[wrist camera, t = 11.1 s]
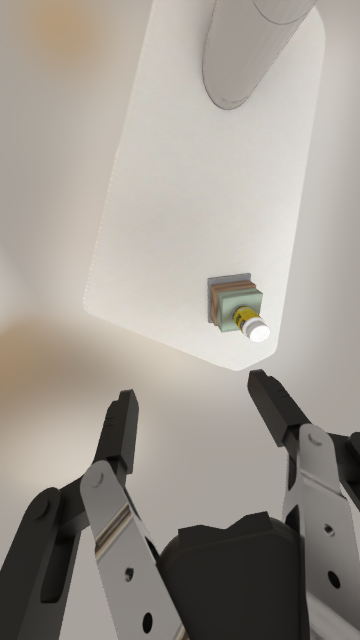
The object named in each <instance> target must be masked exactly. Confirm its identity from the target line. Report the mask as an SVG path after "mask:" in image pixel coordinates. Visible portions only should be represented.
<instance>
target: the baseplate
mask: <svg viewBox="0 0 360 640" xmlns="http://www.w3.org/2000/svg"><path fill="white" fill-rule="evenodd" d="M250 278H251V274H250V273H248V274H240V275H232V276H224V277H216V278H209V279H208V322H209V323H213V322H212V320H211V285H216V284H224V283H231V282H239V281H247V280H249V281H250Z"/></svg>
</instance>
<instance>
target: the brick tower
mask: <svg viewBox="0 0 360 640" xmlns="http://www.w3.org/2000/svg"><path fill="white" fill-rule="evenodd" d="M262 296H263V293H262V292H260V291H259V290H257V289H256V285H255V284H254V283H252V282H250V281H249V280H247V281H239V282H231V283H224V284H216V285H211V320H212V322H213V323H214V325H215V326H218V327H219V329H220V330H221V332H229V331H235V330H240V329H239V327H238V326H237V325H236V324H235V322H234V321H233V319H232V312H233V310H234V309H235V308H236V307H238V306H240V305H247V306H249V307H250V308H251V309H252V310H253V311H254V312H256V313H257V314H258V315H259V313H260V307H261V301H262Z"/></svg>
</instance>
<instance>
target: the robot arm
mask: <svg viewBox="0 0 360 640" xmlns="http://www.w3.org/2000/svg"><path fill="white" fill-rule="evenodd" d="M316 2H317V0H216V4H215V7H214V11H213V15H212V21H211V25H210V29H209V33H208V37H207V41H206V45H205V48H204V54H203V78H204V83H205V86H206V90H207V92H208V94H209V96H210V98H211V99H212V101H213V102H214V103H215V104H216V105H218V106H219V107H221V108H223V109H234V108H236V107H238V106H240V105H241V104H242V103H243V102H244V101H245V100H246V99H247V98H248V96H249V95H250V94H251V92H252V91H253V90H254V88H255V87H256V85H257V84H258V83H259V81H260V80H261V79H262V77H263V76H264V74H265V73H266V72H267V70H268V69H269V67H270V66H271V65H272V63H273V62H274V60H275V59H276V58H277V56H278V55H279V53H280V52H281V51H282V49H283V48H284V47H285V45H286V44H287V42H288V41H289V40H290V38H291V37H292V35H293V34H294V33H295V31H296V30H297V28H298V27H299V26H300V24H301V23H302V21H303V20H304V19H305V17H306V16H307V14H308V13H309V12H310V10H311V9H312V7H313V6H314V5H315V3H316ZM247 387H248V391H249V394H250V396H251V398H252V400H253V401H254V403H255V405H256V407H257V409H258V411H259V413H260V414H261V416H262V418H263V420H264V422H265V423H266V426H267V428H268V429H269V431H270V433H271V435H272V437H273V439H274V440H275V442H276V444H277V446H278V447H283V446H285V447H286V449H287V451H288V453H287V472H286V473H287V474H286V492H285V497H284V503H283V510H282V522H281V521H279V520H277V519H275V518H272V517H269V515H268V513H267V511H265V512H260V513H255V514H250V515H246V516H244V517H243V518H241V519H240V520H239V521H237V522H236V523H234V524H233V525H231V526H230V527H229V528H227V529H219V528H213V527H209V526H204V525H196V526H192V527H187V528H182V529H178V534H179V535H177V536H176V537H174V538H173V539H172V540H171V541H170V542H169V544H168V545H167V546H166V547H165V549H164V550H163V552H162V553H161V555H160V553H159V551H158V549H157V547H156V545H155V543H154V541H153V539H152V537H151V535H150V533H149V531H148V530H147V528H146V526H145V524H144V523H143V521H142V519H141V517H140V515H139V513H138V511H137V509H136V507H135V505H134V503H133V501H132V499H131V497H130V495H129V493H128V491H127V489H126V486H125V482H126V475H127V474H132V472H133V462H134V452H135V442H136V433H137V423H138V412H139V406H138V402H137V399H136V396H135V393H134V391H133V389H131V390H124V391H121V392H120V395H119V399H118V400H117V401H113V402H112V403H111V405H110V407H109V408H108V410H107V413H106V417H105V421H104V424H103V428H102V432H101V436H100V439H99V443H98V447H97V451H96V454H95V457H94V460H93V462H92V464H91V466H90V467H89V468H88V469H87V471H86V472H85V474H83V475H82V476H81V477H80V478H78V479H77V480H75V481H73V482H72V483H70V484H68V485H66V486H65V487H63V488H61V489H59V490H58V489H57V488H54V487H51V488H47V489H46V490H44V491H42V492H41V493H39V494H38V495H37V496H36V497H35V498H34V499H33V501H32V502H31V503H30V505H29V506H28V508H27V510H26V512H25V514H24V516H23V518H22V521H21V523H20V526H19V528H18V530H17V533H16V535H15V537H14V540H13V542H12V545H11V547H10V549H9V552H8V554H7V556H6V559H5V561H4V563H3V566H2V568H1V571H0V640H59V635H60V630H61V626H62V621H63V616H64V611H65V607H66V602H67V597H68V592H69V588H70V583H71V578H72V573H73V568H74V564H75V559H76V555H77V550H78V545H79V540H80V536H81V531H82V530H83V529H85V528H86V527H88V526H89V525H90V526H91V529H92V532H93V536H94V539H95V543H96V546H95V558H96V562H97V566H98V570H99V573H100V576H101V580H102V583H103V587H104V590H105V594H106V597H107V601H108V604H109V608H110V611H111V615H112V618H113V622H114V625H115V629H116V632H117V636H118V639H119V640H360V560H359V555H358V549H357V543H356V537H355V532H354V526H353V520H352V515H351V509H350V505H349V502H348V500H347V499H346V497H344V496H343V495H342V493H341V489H340V484H339V481H340V482H341V484H342V485H343V487H344V489H345V490H346V492H347V493H348V495H349V496H350V498H351V499H352V501H353V502H354V504H355V505H356V507H357V508H358V510H359V511H360V432H355V433H353V434H352V435H351V436H350V437H347V436H342V435H336V434H331V433H327V432H325V431H324V430H323V429H321V428H320V427H318V426H316V425H313V424H312V423H311V422H310V421H309V420H308V418H307V417H306V416H305V414H304V413H303V412H302V411H301V409H300V408H299V407H298V405H297V404H296V403H295V401H294V400H293V399H292V397H290V395H289V394H288V392H287V391H286V390H285V388H284V387H283V386H282V384H281V383H280V382H279V381H278V380H276V379H275V378H274V377H272V376H269V377H268V376H267V375H266V373H265V372H264V371H263V370H262V369H259V370H253V371H250V373H249V379H248V385H247Z"/></svg>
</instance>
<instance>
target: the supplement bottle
mask: <svg viewBox="0 0 360 640" xmlns="http://www.w3.org/2000/svg"><path fill="white" fill-rule="evenodd" d="M232 319H233V321H234V322H235V324H236V325H237V326H238V327H239V329H240V330H241V331H242V333H243V334H244V335H245V336H247V337H248V338H249V339H250V340H251V341H252V342H261V341H263V340H265V339H266V338H267V337H268V335H269V333H270V329H269V328H268V326H267V325H266V324H265V322H264V320H263V319H262V318H261V317H260V316H259V315H258V314H257V313H256V312H254V311H253V310H252V309H251V308H250V307H249V306H247V305H240V306H238V307H236V308H235V309H234V310H233V312H232Z"/></svg>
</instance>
